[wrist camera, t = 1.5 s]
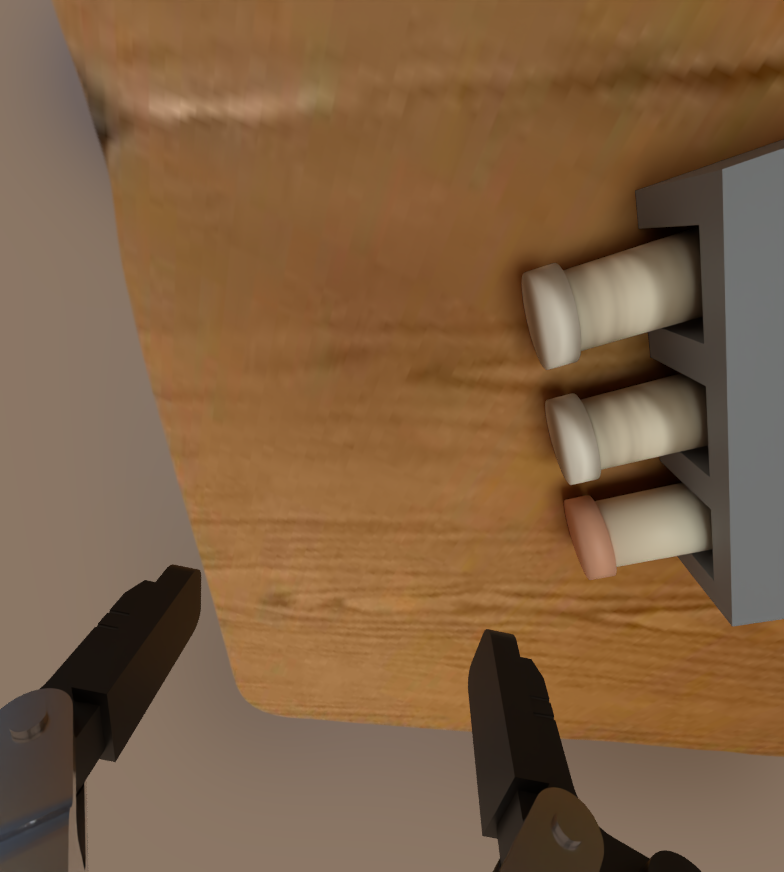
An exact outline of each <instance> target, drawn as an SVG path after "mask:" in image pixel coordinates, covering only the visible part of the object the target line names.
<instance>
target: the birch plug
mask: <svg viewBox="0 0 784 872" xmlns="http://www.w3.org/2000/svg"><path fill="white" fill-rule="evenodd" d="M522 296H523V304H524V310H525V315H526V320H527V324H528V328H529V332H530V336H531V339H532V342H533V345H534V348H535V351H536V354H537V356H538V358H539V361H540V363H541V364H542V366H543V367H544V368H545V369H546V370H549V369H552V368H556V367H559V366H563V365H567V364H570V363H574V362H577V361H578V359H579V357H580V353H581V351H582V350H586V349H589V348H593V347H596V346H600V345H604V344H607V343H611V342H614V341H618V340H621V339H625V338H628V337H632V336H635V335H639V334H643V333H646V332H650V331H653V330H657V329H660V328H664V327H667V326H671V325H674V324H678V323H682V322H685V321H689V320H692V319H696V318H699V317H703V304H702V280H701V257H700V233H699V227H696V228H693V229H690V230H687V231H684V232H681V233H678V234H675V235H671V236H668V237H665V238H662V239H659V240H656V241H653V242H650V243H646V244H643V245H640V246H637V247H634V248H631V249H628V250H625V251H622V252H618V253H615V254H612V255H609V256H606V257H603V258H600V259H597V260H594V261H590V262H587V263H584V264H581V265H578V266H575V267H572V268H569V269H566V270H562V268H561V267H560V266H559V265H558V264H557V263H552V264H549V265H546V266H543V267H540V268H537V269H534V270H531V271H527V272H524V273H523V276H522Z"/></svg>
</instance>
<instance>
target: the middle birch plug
mask: <svg viewBox="0 0 784 872" xmlns="http://www.w3.org/2000/svg"><path fill="white" fill-rule="evenodd" d="M545 413H546V420H547V425H548V430H549V434H550V438H551V442H552V446H553V449H554V452H555V455H556V458H557V461H558V464H559V466H560V469H561V471H562V473H563V475H564V477H565V479H566V481H567V482H568V483H569V484H570V485H573V484H578V483H582V482H587V481H591V480H596V479H599V477H600V474H601V469H606V468H610V467H615V466H619V465H623V464H628V463H632V462H637V461H641V460H645V459H650V458H654V457H659V456H663V455H668V454H672V453H676V452H681V451H685V450H690V449H694V448H698V447H703V446H707V445H708V424H707V400H706V386H705V385H703V384H701V383H699V382H697V381H695V380H693V379H691V378H689V377H687V376H686V375H684V374H682V373H681V374H677V375H673V376H670V377H666V378H662V379H658V380H654V381H650V382H647V383H643V384H639V385H635V386H631V387H627V388H623V389H620V390H616V391H612V392H608V393H604V394H600V395H597V396H593V397H589V398H585V399H581V400H580V399H579V397H578V396H577V395H576V394H574V393H571V394H567V395H564V396H560V397H556V398H552V399H549V400H546V402H545Z"/></svg>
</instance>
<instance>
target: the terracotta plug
mask: <svg viewBox="0 0 784 872" xmlns="http://www.w3.org/2000/svg"><path fill="white" fill-rule="evenodd" d="M564 510H565V516H566V520H567V525H568V528H569V532H570V536H571V539H572V542H573V545H574V548H575V551H576V554H577V557H578V559H579V562H580V564H581V566H582V569H583V571H584V573H585V575H586V576H587V578H588V579H589V580H593V579H598V578H604V577H610V576H615V575H616V571H617V568H616V567H618V566H624V565H629V564H635V563H640V562H646V561H651V560H657V559H662V558H668V557H673V556H679V555H684V554H690V553H695V552H701V551H706V550H712V549H713V544H712V520H711V509H710V508H709V507H708V506H707V505H706V504H705V503H704V502H702V501H701V500H700V499H699V498H698V497H697V496H696V495H695V494H694V493H693V492H692V491H691V490H690V489H689V488H688V487H687V486H686V485H685V484H684V483H678V484H673V485H669V486H664V487H659V488H655V489H650V490H645V491H640V492H636V493H631V494H626V495H622V496H617V497H612V498H608V499H603V500H598V501H594V500H593V498H592V497H591V496H589V495H585V496H581V497H576V498H572V499H567V500H564Z"/></svg>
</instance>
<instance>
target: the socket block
mask: <svg viewBox="0 0 784 872" xmlns="http://www.w3.org/2000/svg"><path fill="white" fill-rule="evenodd" d="M635 194H636V205H637V216H638V227H639V229H641V228H658V227H674V226H690V225H699V233H700V257H701V280H702V304H703V317H699V318H696V319H692V320H689V321H685V322H682V323H678V324H674V325H671V326H667V327H664V328H660V329H657V330H653V331H650V332H648V336H649V347H650V357H651V358H653V359H655V360H657V361H659V362H661V363H663V364H665V365H667V366H668V367H670V368H672V369H674V370H676V371H678V372H680V373H682V374H684V375H686V376H687V377H689V378H691V379H693V380H695V381H697V382H699V383H701V384H703V385H705V386H706V400H707V424H708V445H707V446H703V447H698V448H694V449H690V450H685V451H681V452H676V453H672V454H668V455H663V456H660V461H661V462H662V463H663V464H664V465H665V466H666V467H667V468H668V469H669V470H670V471H671V472H672V473H673V474H674V475H675V476H676V477H677V478H678V479H679V480H681V481H682V482H683V483H684V484H685V485H686V486H687V487H688V488H689V489H690V490H691V491H692V492H693V493H694V494H695V495H696V496H697V497H698V498H699V499H700V500H701V501H702V502H704V503H705V504H706V505H707V506H708V507H709V508H710V509H711V520H712V544H713V549H712V550H706V551H701V552H695V553H690V554H684V555H679V556H677V557H678V558H679V559H680V560H681V562H682V563H683V564H684V565H685V567H686V568H687V569H688V571H689V572H690V573H691V574H692V576H693V577H694V578H695V579H696V581H697V582H698V583H699V585H700V586H701V587H702V588H703V590H704V591H705V592H706V593H707V595H708V596H709V597H710V599H711V600H712V601H713V602H714V604H715V605H716V606H717V608H718V609H719V610H720V611H721V613H722V614H723V615H724V616H725V618H726V619H727V620H728V622H729V623H730V624H731V625H732V626H738V625H745V624H752V623H759V622H765V621H772V620H779V619H784V139H783V140H780V141H778V142H775V143H772V144H769V145H766V146H763V147H760V148H757V149H754V150H752V151H749V152H746V153H743V154H740V155H737V156H734V157H731V158H728V159H726V160H723V161H720V162H717V163H714V164H711V165H708V166H705V167H703V168H700V169H697V170H694V171H691V172H688V173H685V174H682V175H679V176H677V177H674V178H671V179H668V180H665V181H662V182H659V183H656V184H653V185H651V186H648V187H645V188H642V189H639V190H636V191H635Z"/></svg>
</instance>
